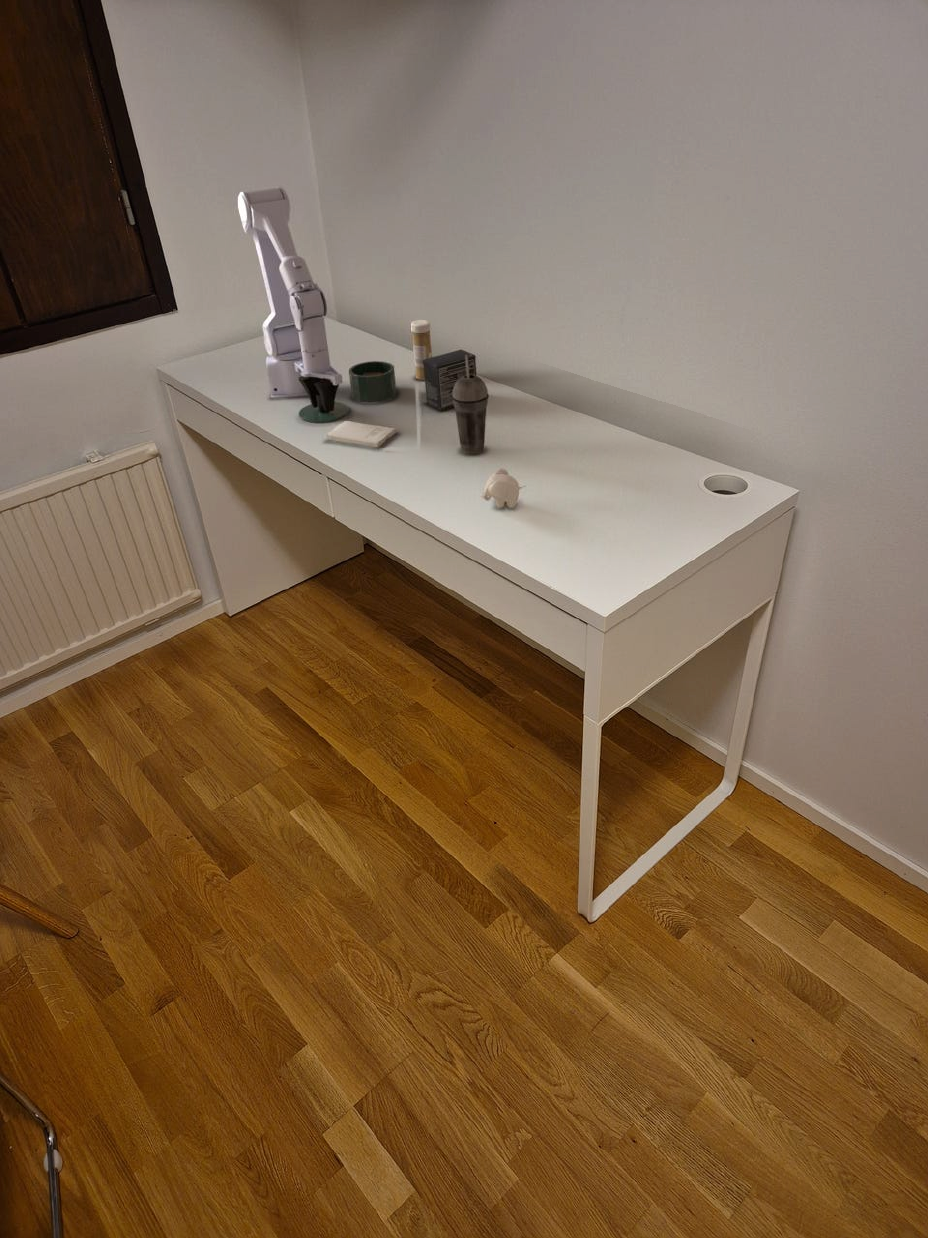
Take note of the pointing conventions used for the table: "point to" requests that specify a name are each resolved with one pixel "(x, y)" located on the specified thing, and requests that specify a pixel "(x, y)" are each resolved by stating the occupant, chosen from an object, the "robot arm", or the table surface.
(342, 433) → the hard drive
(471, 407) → the beverage cup
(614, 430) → the table surface
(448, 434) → the table surface
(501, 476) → the elephant figurine
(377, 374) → the block
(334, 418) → the lid
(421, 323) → the sprinkles bottle
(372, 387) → the green faceted bucket
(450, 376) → the small box
